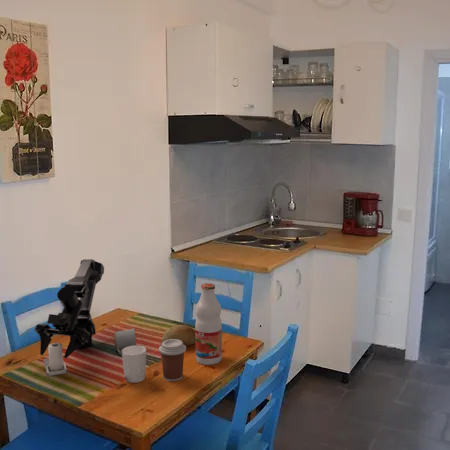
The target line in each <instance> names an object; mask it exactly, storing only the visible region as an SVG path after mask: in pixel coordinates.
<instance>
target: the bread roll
mask: <svg viewBox="0 0 450 450" xmlns="http://www.w3.org/2000/svg"><path fill="white" fill-rule="evenodd" d="M170 339H177V340H181V341H182V342H183V344H184V345H185V346H186V347H187V346H190V345H193V344H196V336H195V329H194V328H193V327H191V326H189V325H187V324H178V325H173V326H171V327H169V328H168V329H167V330H166V331H165V332H164V333H163V335H162V338H161V341H160V342H161V343H160V344H161V345H162V342H164V341H166V340H170Z"/></svg>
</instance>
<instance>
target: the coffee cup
mask: <svg viewBox="0 0 450 450" xmlns="http://www.w3.org/2000/svg"><path fill="white" fill-rule="evenodd" d="M186 351H187V345H186V346H185V345H184V344H183V342H182V341H181V340H177V339H170V340H166V341H164V342H162V344H161V345H160V346H159V347H158V352H159V354H160V355H161V366H162V367H161V368H162V373H163V379H164V380H165V381H167V382H176V381H180V380H182V379H183V377H184V375H183V373H184V361H185V359H184V357H185V352H186Z"/></svg>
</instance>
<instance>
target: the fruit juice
mask: <svg viewBox="0 0 450 450" xmlns="http://www.w3.org/2000/svg"><path fill="white" fill-rule="evenodd" d="M200 288H201V295H200V297H199V300H198V302H197V303H196V305H195V314H196V319H195V326H194V328H195V329H194V330H195V336H196V343H195V361H196V362H197V363H198V364H201V365H204V366H211V365H212V366H213V365H216V364H219V363H220V362H221V361H222V359H223V358H222V357H223V354H222V353H223V348H222V347H223V342H222V341H223V339H222V337H223V335H222V334H223V333H222V331H223V330H222V329H223V327H222V326H223V325H222V319H221V313H222V307H221V304H220V302H219V301H218V299H217V296H216V293H215V291H216V284H214V283H211V282H210V283H209V282H207V283H202V284H201V285H200Z"/></svg>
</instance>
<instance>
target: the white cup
mask: <svg viewBox="0 0 450 450" xmlns="http://www.w3.org/2000/svg"><path fill="white" fill-rule="evenodd" d="M121 352H122V357H121V358H122V368H123V373H124V380H125V381H126V382H127V383H132V384H133V383H134V384H135V383H140V382H143V381H144V380H145V379H146V369H147V348H146V347H145V346H142V345H136V346H129V347H126V348H124V349H123V350H122V351H121Z"/></svg>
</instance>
